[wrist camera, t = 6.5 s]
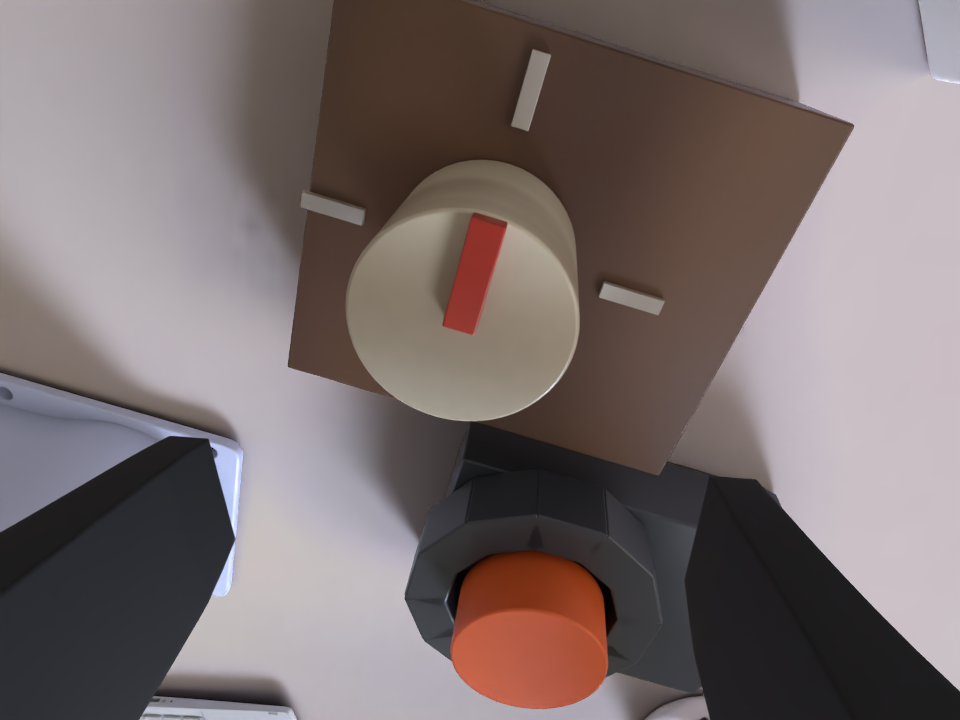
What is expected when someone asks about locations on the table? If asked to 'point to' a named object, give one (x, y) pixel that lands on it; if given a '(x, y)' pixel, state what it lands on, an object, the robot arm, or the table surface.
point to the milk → (942, 38)
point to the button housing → (569, 542)
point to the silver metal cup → (682, 710)
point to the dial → (469, 294)
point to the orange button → (530, 630)
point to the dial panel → (565, 198)
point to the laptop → (212, 710)
